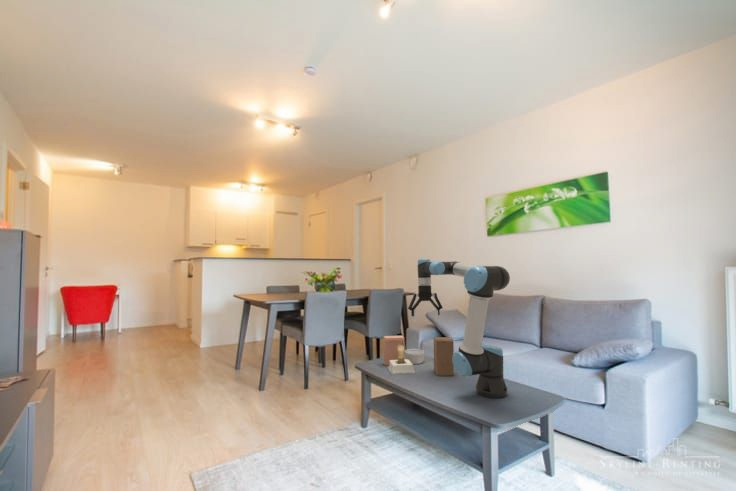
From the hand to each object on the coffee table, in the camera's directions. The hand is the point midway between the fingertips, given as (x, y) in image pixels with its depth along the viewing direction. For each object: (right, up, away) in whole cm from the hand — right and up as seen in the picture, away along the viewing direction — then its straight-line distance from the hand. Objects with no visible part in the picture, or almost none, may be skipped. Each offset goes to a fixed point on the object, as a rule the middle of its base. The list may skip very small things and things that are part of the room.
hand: (425, 321), depth 210 cm
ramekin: (-3, -32, +26) cm, 42 cm away
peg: (-14, -30, +7) cm, 34 cm away
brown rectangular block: (-17, -32, +18) cm, 40 cm away
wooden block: (+11, -31, +2) cm, 33 cm away
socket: (-14, -31, +7) cm, 35 cm away
